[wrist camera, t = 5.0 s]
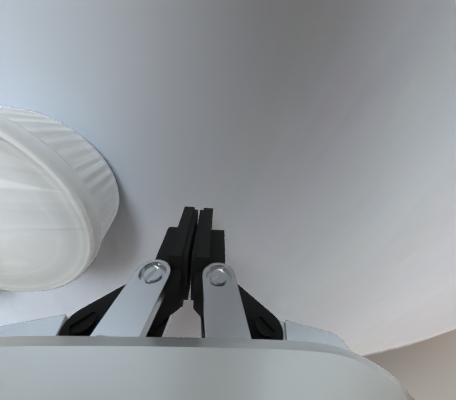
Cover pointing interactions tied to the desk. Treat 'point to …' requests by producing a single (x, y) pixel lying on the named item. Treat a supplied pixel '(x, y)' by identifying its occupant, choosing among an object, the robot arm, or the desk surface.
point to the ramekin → (50, 201)
